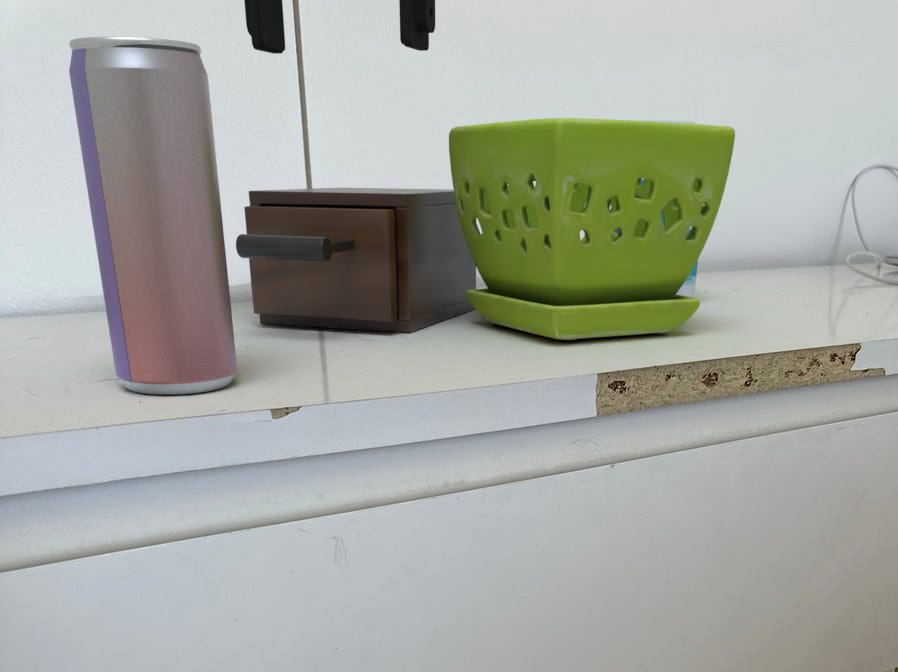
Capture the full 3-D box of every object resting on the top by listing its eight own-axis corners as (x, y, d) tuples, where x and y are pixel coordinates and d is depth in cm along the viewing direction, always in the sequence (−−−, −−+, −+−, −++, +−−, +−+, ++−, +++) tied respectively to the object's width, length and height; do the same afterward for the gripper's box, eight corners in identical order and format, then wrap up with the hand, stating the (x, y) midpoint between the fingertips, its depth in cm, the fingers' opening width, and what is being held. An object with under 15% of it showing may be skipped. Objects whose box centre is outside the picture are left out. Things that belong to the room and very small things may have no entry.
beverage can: (92, 387, 49) (35, 40, 42) (182, 369, 54) (143, 53, 47) (175, 402, 46) (127, 32, 40) (262, 381, 51) (232, 47, 44)
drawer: (358, 332, 60) (353, 212, 57) (213, 323, 63) (201, 209, 60) (456, 300, 75) (456, 203, 72) (335, 294, 78) (330, 201, 75)
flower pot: (721, 337, 65) (745, 123, 60) (546, 353, 59) (555, 116, 54) (599, 311, 76) (610, 129, 71) (442, 322, 70) (440, 123, 64)
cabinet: (409, 333, 66) (406, 193, 62) (259, 323, 69) (248, 190, 65) (476, 308, 77) (476, 189, 73) (345, 301, 81) (339, 187, 77)
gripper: (498, -313, 53) (493, 53, 60) (215, -280, 57) (244, 58, 65) (456, -380, 46) (456, 40, 54) (141, -337, 51) (182, 46, 58)
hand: (340, 49), depth 59 cm, fingers open, 9 cm apart
